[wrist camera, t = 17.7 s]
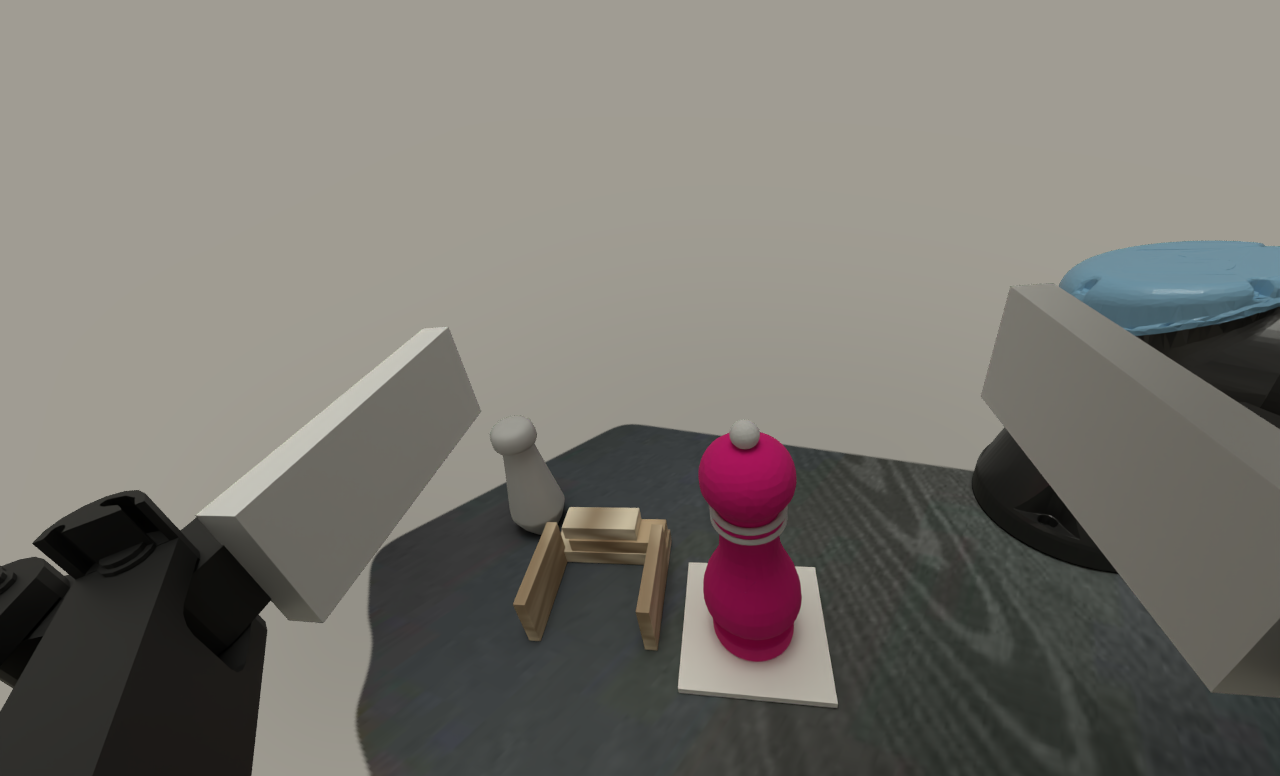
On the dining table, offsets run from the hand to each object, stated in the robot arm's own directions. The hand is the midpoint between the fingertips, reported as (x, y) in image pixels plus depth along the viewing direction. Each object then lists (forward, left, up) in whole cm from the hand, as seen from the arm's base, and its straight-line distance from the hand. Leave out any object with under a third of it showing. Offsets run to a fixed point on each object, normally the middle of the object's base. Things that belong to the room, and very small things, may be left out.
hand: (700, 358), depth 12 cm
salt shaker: (+21, -24, -32) cm, 45 cm away
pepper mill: (-1, -13, -32) cm, 34 cm away
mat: (-1, -13, -32) cm, 34 cm away
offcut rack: (+12, -16, -32) cm, 38 cm away
